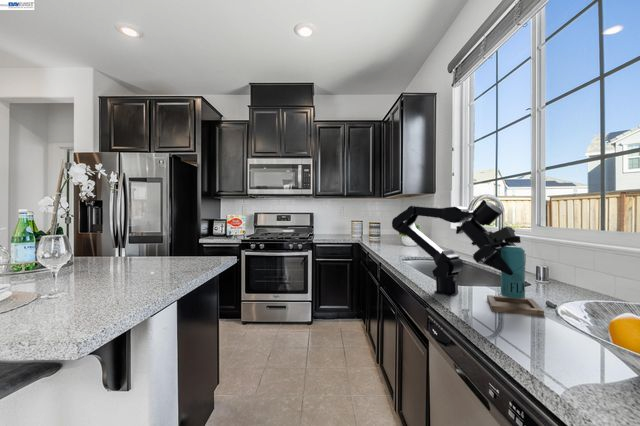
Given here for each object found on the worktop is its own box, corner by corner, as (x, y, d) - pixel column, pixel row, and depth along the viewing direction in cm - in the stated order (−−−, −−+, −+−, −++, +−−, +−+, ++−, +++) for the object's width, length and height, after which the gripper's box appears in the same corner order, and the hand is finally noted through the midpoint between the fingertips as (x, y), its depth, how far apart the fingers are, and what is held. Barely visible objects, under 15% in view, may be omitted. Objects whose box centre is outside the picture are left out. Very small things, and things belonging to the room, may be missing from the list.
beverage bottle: (508, 303, 85) (508, 236, 85) (495, 296, 92) (495, 234, 91) (530, 303, 85) (530, 236, 85) (516, 297, 91) (516, 234, 91)
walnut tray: (492, 311, 85) (491, 305, 85) (487, 299, 96) (487, 294, 96) (544, 316, 80) (544, 310, 80) (532, 303, 91) (532, 298, 91)
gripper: (483, 218, 86) (526, 260, 77) (508, 217, 97) (549, 253, 88) (457, 242, 92) (495, 283, 83) (484, 239, 103) (520, 274, 94)
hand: (516, 273), depth 87 cm, fingers closed on beverage bottle, 6 cm apart
